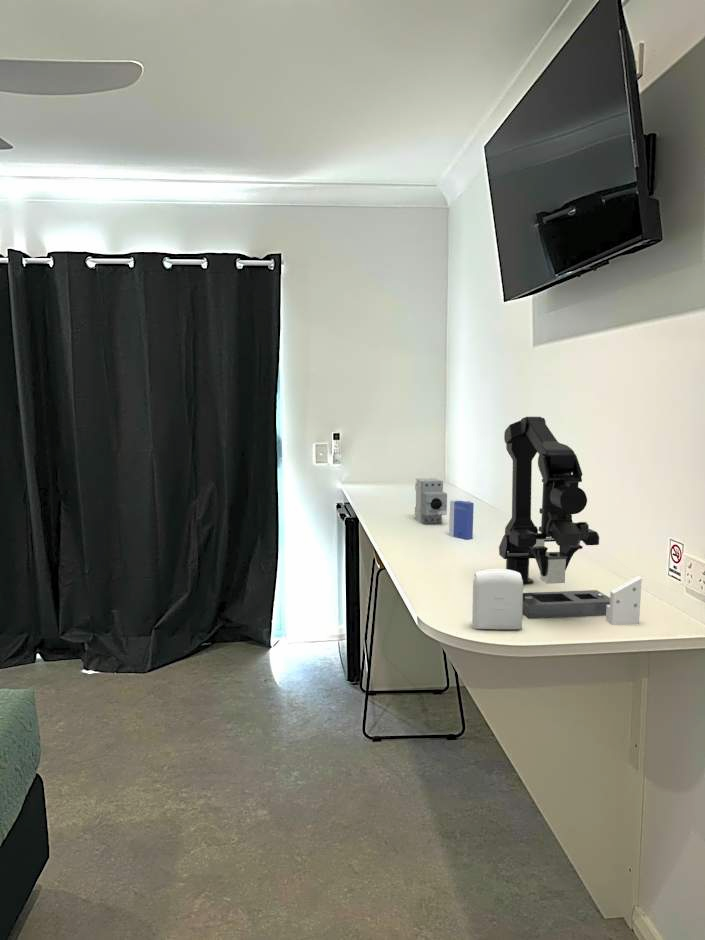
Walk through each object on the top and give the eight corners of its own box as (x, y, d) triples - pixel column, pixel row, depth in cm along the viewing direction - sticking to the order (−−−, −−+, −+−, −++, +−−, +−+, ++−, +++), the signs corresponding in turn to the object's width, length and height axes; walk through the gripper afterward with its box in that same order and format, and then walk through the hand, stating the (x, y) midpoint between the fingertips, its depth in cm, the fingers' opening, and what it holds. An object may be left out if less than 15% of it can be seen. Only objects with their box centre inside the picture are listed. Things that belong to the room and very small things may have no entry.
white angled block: (660, 613, 160) (641, 578, 159) (618, 636, 160) (599, 601, 159) (652, 607, 163) (634, 573, 162) (611, 630, 164) (593, 596, 163)
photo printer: (473, 630, 155) (474, 571, 154) (470, 623, 159) (472, 566, 158) (523, 631, 155) (526, 572, 153) (519, 624, 159) (522, 567, 157)
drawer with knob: (538, 578, 170) (540, 551, 169) (557, 577, 170) (558, 550, 169) (547, 584, 165) (548, 555, 164) (566, 583, 166) (567, 555, 165)
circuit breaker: (427, 527, 262) (428, 484, 260) (414, 519, 275) (415, 478, 274) (448, 526, 263) (449, 483, 262) (434, 518, 277) (435, 478, 275)
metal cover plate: (513, 606, 172) (514, 591, 171) (595, 602, 175) (596, 588, 175) (529, 618, 163) (529, 603, 162) (615, 614, 166) (616, 599, 166)
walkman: (472, 538, 243) (473, 501, 242) (466, 539, 242) (467, 502, 240) (454, 534, 249) (455, 498, 248) (448, 535, 248) (449, 499, 246)
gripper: (529, 513, 156) (526, 587, 158) (613, 511, 159) (609, 584, 161) (509, 504, 167) (507, 573, 169) (588, 502, 170) (585, 570, 172)
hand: (552, 575), depth 168 cm, fingers closed on drawer with knob, 4 cm apart
